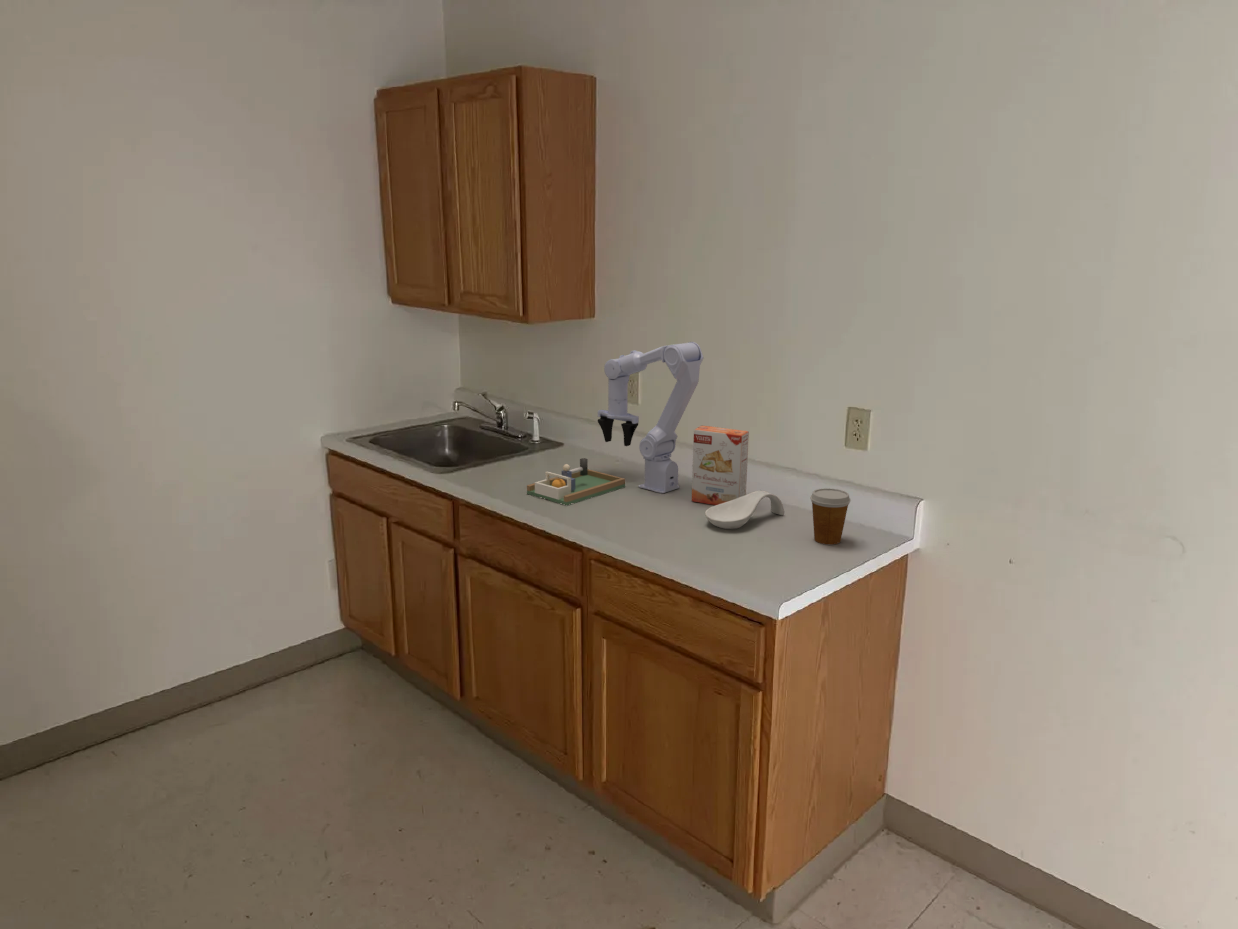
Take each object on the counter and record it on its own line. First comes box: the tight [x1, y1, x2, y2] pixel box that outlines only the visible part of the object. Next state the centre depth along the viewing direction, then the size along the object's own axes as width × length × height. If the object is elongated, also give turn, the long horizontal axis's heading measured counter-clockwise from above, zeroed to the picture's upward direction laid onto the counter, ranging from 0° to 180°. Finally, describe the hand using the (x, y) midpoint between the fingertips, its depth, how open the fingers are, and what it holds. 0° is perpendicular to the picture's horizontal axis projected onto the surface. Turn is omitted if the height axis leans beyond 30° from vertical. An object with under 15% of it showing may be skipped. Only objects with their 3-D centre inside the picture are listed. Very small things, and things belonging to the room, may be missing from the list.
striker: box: [558, 457, 589, 491], centre depth 256 cm, size 5×9×7 cm, turn 138°
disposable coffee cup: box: [809, 487, 852, 546], centre depth 217 cm, size 10×10×12 cm
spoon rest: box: [704, 490, 785, 530], centre depth 231 cm, size 24×12×7 cm, turn 125°
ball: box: [552, 478, 566, 488], centre depth 252 cm, size 4×4×4 cm
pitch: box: [526, 469, 626, 506], centre depth 257 cm, size 16×24×6 cm, turn 138°
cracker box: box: [691, 425, 750, 506], centre depth 244 cm, size 14×6×21 cm, turn 62°
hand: (617, 443), depth 269 cm, fingers open, 7 cm apart
